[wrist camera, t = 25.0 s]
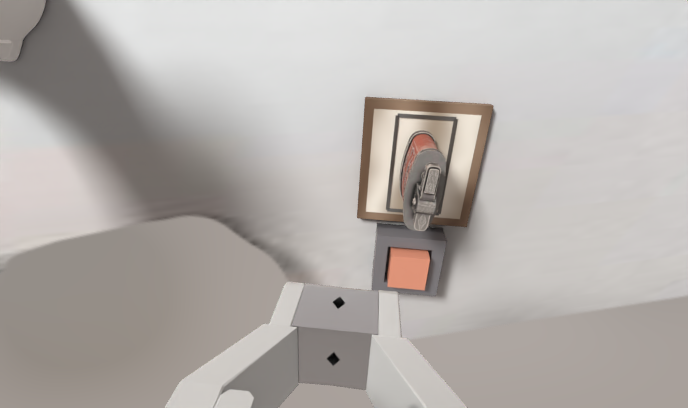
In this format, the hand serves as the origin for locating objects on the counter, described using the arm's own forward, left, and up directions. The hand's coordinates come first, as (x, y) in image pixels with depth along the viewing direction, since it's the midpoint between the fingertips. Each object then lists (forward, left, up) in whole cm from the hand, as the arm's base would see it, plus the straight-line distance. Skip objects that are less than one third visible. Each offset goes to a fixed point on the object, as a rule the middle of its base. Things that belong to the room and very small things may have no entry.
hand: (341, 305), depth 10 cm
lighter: (+6, -6, -30) cm, 31 cm away
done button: (+6, -18, -30) cm, 35 cm away
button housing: (+6, -18, -31) cm, 36 cm away
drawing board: (+6, -6, -31) cm, 32 cm away
